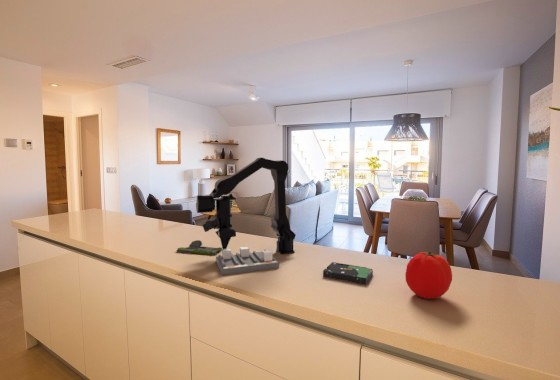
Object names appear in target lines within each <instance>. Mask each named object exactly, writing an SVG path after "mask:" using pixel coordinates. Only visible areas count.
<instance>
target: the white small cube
mask: <svg viewBox="0 0 560 380" xmlns="http://www.w3.org/2000/svg"><path fill="white" fill-rule="evenodd" d="M249 252H250V248H249V247H248V246H241V247H239V254H240V256H241V257H249Z"/></svg>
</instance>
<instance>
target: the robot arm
mask: <svg viewBox="0 0 560 380" xmlns="http://www.w3.org/2000/svg"><path fill="white" fill-rule="evenodd" d="M261 169H265V170H269V171H270V174H271V178H272V179H273V181H274V182H273V183H274V208H275V209H274V210H275V211H274V212H275V214H274V217H271V219H270V221H271V225H270V228H272V231H273V232H274V233H275V234H276V236H277V240H276V251H277V252H278V253H279V254H281V255H283V254H285V255H286V254H292V253H295V250H294V240H295V239H296V235H297V234H296V233H295V232H293V231H292V230H291V225H290V220H289V218H288V215H287V203H286V180H287V178H288V175H289V174H288V173H289V164H288V163H287V162H286V161H285V160H279V159H278V160H273V159H268V158H264V157H257V158H255V160H253V161H252V162H249V164H247V165H246V166H243V168H241V169H239V170H237V171H236V172H234V173H233V174H231V175H228V176H225V177H223V178H219V179H218V180H217V181H216V182H215V183H214V188H213V190H212V191H211V192H210V194H207V195H206V194H205V195H202V194H197V195H196V203H195V209H196V210H195V211H196V214H203V213H204V214H205V213H213V211H215V214H214V217H211V218H209V219H207V220H204V221H202V222H201V226H202V228H203V231H204V232H209V231H211V230H212V229H213V230H216V231H215V234H216V235H217V237H218V238H219V240H220V245H221V248H222V249H228V248H227V247H228V246H229V243H230V241H231V238H233V237H234V238H235V237H237V231H236V230H235V229H234V228H233V224H232V217H233V215H232V208H231V206H232V205H231V204H232V203H231V201H235V200H236V197H235V196H234V195H233V194H232V193H231V192H232V191H234V189H235V188H236V187H237V186H238V185H239V184H240V183H241V182H243V181H244V180H245V179H247V178H249V177H250V176H252V175H253V174H255V173H256V172H258V171H259V170H261Z"/></svg>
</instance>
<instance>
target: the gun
mask: <svg viewBox="0 0 560 380" xmlns="http://www.w3.org/2000/svg"><path fill="white" fill-rule="evenodd" d="M202 245H203V241H202V240H193V241H192V242H191V243H190V244H189V246H188V247H177V249H176V252H177V253H183V254H189V255H191V254H193V255H204V256H217V255H218V253H222V247H221V246H220V247H214V246H213V247H211V246H202Z"/></svg>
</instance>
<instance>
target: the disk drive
mask: <svg viewBox="0 0 560 380" xmlns="http://www.w3.org/2000/svg"><path fill="white" fill-rule="evenodd" d="M373 272H374V270H373V268H370V267H369V268H368V267H366V266H358V265H353V264H349V263H348V264H345V263H341V262H340V263H339V262H335V261H334V262H333V261H332V262H331V263H330V264H329V265H327V267H326V268H324V269H323V271H322V277H323V278H327V279H333V280H339V281H344V282H348V283H349V282H350V283H354V284H358V285H359V284H360V285H365V286H367V285H368V284H369V282H370V280H371V278H372V277H373V274H374V273H373Z"/></svg>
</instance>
